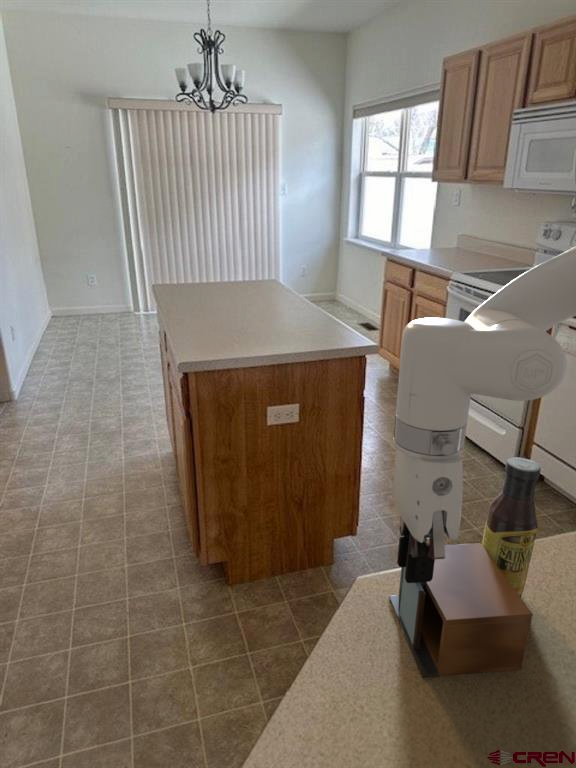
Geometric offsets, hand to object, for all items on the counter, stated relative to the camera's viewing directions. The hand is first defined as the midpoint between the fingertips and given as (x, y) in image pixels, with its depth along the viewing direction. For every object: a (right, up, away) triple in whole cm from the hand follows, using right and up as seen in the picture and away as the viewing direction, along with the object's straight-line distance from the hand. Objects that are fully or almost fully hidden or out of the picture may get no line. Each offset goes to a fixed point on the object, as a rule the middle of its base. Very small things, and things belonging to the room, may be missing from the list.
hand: (414, 571), depth 64 cm
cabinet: (+6, -9, +3) cm, 11 cm away
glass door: (0, -8, +3) cm, 9 cm away
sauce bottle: (+14, -7, +10) cm, 18 cm away
